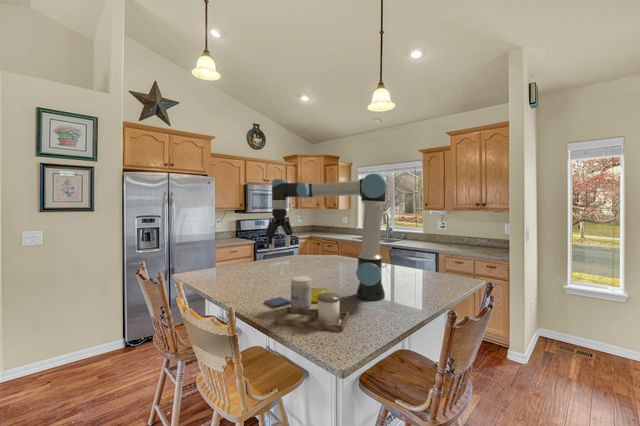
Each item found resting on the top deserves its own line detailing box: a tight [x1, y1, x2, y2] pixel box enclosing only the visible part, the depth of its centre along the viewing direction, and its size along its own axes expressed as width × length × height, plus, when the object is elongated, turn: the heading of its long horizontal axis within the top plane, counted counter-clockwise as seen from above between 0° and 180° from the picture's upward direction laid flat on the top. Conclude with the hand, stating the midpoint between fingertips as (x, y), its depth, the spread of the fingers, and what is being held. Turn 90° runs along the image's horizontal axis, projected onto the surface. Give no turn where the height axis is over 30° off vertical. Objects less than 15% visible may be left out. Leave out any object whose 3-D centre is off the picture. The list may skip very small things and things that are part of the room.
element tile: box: [311, 287, 329, 305], centre depth 158 cm, size 15×15×5 cm
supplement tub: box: [290, 275, 312, 309], centre depth 143 cm, size 10×10×15 cm
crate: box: [274, 306, 350, 332], centre depth 127 cm, size 28×15×3 cm, turn 75°
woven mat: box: [263, 296, 291, 309], centre depth 151 cm, size 10×11×2 cm
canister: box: [317, 292, 341, 324], centre depth 125 cm, size 9×9×11 cm
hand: (279, 248), depth 159 cm, fingers open, 13 cm apart
